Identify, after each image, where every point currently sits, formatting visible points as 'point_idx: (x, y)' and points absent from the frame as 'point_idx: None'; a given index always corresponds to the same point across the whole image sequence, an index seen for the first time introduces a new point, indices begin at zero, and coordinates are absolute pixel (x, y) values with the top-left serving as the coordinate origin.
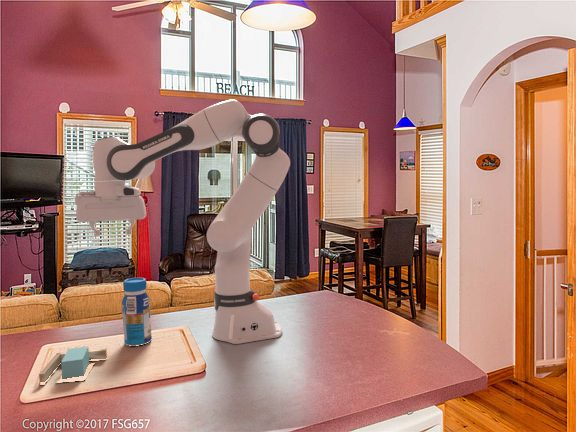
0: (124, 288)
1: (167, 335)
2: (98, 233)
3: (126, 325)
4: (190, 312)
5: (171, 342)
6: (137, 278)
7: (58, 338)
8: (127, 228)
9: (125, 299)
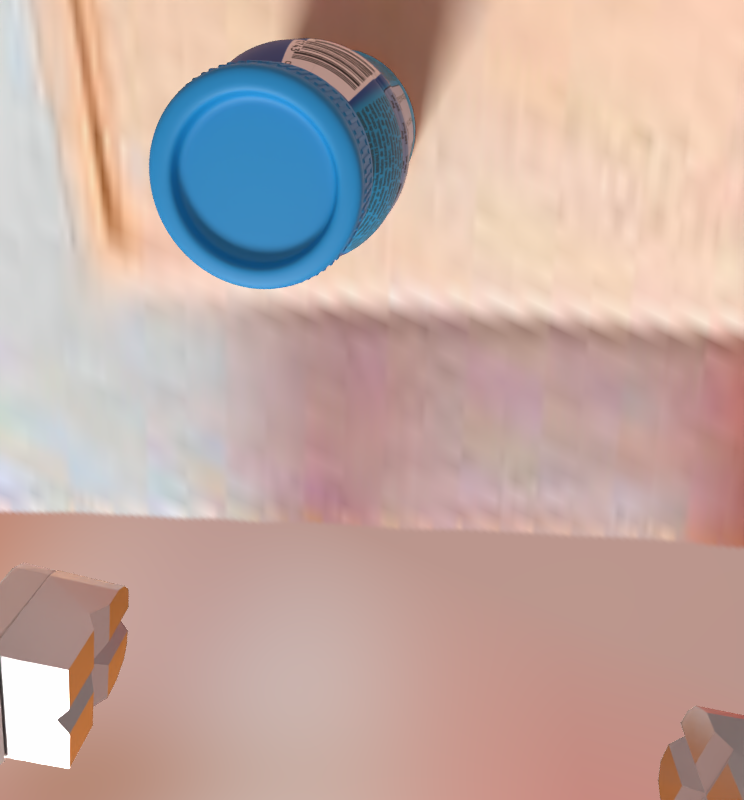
0: (363, 132)
1: None
2: (731, 743)
3: (391, 83)
4: (77, 480)
5: (165, 43)
6: (231, 260)
7: (729, 395)
8: (56, 755)
9: (370, 104)
